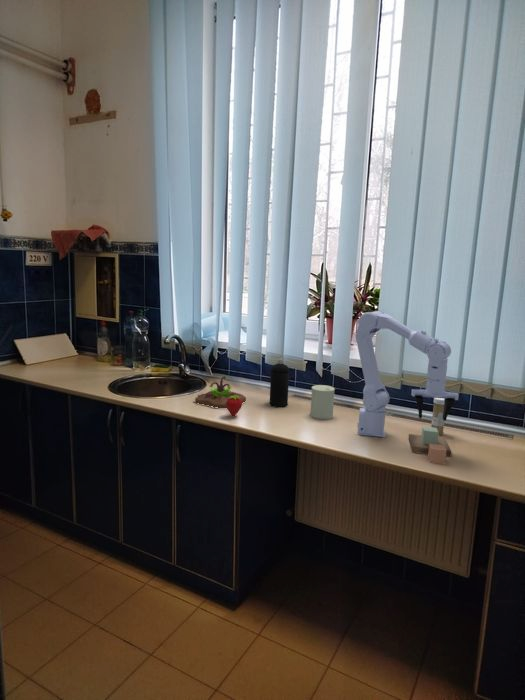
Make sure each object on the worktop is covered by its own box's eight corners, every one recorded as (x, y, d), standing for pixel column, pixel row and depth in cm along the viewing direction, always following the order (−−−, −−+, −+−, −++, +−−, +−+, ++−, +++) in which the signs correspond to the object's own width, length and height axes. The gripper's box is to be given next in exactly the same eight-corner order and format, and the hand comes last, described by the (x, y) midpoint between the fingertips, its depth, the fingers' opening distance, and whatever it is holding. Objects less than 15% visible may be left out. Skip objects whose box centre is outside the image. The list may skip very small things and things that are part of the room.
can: (321, 421, 184) (323, 391, 182) (305, 414, 191) (306, 385, 189) (337, 416, 190) (339, 387, 188) (321, 410, 197) (322, 382, 195)
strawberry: (245, 415, 187) (246, 390, 186) (235, 420, 181) (236, 395, 179) (232, 412, 190) (232, 388, 188) (222, 417, 183) (222, 392, 182)
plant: (253, 401, 208) (254, 376, 206) (225, 412, 192) (226, 385, 190) (217, 393, 218) (218, 369, 216) (188, 402, 202) (188, 377, 200)
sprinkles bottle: (428, 430, 178) (431, 396, 175) (439, 430, 178) (443, 396, 176) (433, 435, 173) (437, 399, 171) (445, 435, 174) (449, 399, 171)
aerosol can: (287, 408, 198) (289, 361, 195) (267, 406, 200) (269, 360, 196) (289, 402, 206) (291, 357, 203) (270, 401, 208) (272, 356, 204)
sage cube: (422, 443, 159) (424, 430, 158) (421, 438, 163) (422, 426, 163) (437, 445, 158) (438, 432, 157) (435, 440, 162) (436, 427, 162)
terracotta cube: (429, 462, 149) (431, 448, 148) (427, 456, 154) (429, 443, 153) (444, 464, 148) (446, 450, 147) (442, 458, 153) (444, 445, 152)
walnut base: (411, 452, 157) (412, 446, 156) (408, 439, 168) (408, 433, 168) (450, 456, 154) (451, 450, 154) (444, 443, 166) (444, 437, 165)
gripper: (414, 379, 154) (410, 420, 156) (462, 383, 151) (457, 424, 154) (412, 375, 161) (408, 413, 163) (457, 378, 158) (453, 417, 160)
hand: (432, 418), depth 159 cm, fingers open, 7 cm apart
